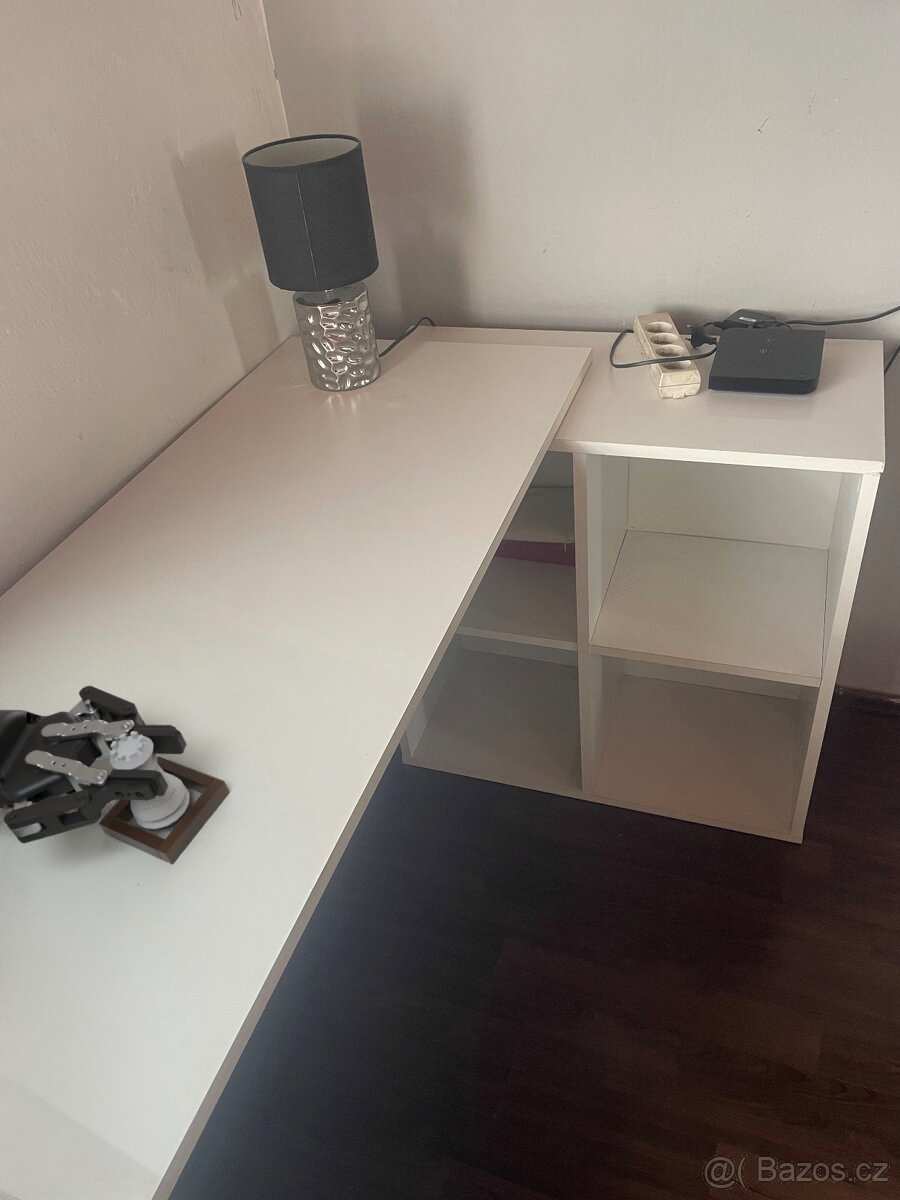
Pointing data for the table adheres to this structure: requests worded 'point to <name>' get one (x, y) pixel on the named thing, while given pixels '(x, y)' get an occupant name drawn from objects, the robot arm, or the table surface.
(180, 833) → the holder collar
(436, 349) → the table surface
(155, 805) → the rook chess piece
